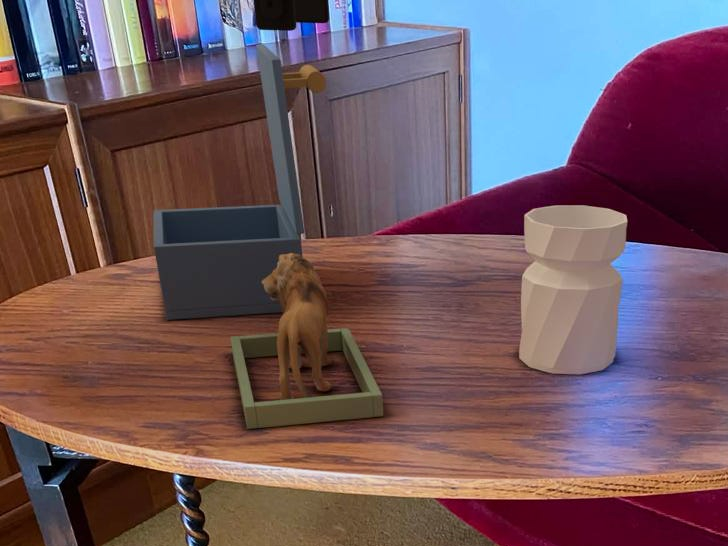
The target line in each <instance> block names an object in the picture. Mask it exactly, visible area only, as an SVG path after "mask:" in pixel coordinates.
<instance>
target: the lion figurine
mask: <svg viewBox="0 0 728 546" xmlns="http://www.w3.org/2000/svg"><path fill="white" fill-rule="evenodd" d="M302 256H303V255H302ZM302 256H300V255H299V254H294V253H289V254H284V255H280V256H279V262H278V263H277V265H278V266H277V268H276V269H275V270H273V272H272V274H270V275H269V276H268V277H266V278H265V279H264V280H262V284H263V285H264V289H265V291H266V292H267V293H269V294H270V297H271V299H272V300H273V301H275V300H279V302H280V304H281V307H282V312H281V313H282V315H281V317H280V319H279V322H278V330H277V333H278V338H277V350H278V356H277V357H278V359H277V360H278V361H277V362H278V367H279V368H278V369H279V378H278V382H279V385H280V392H281V393H280V396H279V400H287V399H295V397H294V394H293V393H292V390H291V379H290V370H292V376H293V378H294V381H295V383H296V386H297V389H298V391H299V392H300V394H301V396H302V398H310V397H313V395H312V394H311V393H310V392H309V391H308V389H307V387H306V386H305V384H304V382H303V378H302V376H301V375H302V374H301V368H302V366H303V362H304V360H303V356H302V354H301V353H300V349H299V347H300V348H301V349H302V350H303V352H304V355H305V356H306V358H307V360H308V362H309V364H310V366H311V370H312V371H311V379H312V380H313V382H314V384H315V388H316V389H317V391H320V392H329V391H330V390H331V389H332V384H331V383H330V382H329V381H328V380H324V377H323V373H322V367H327V366H331V364H332V360H331V359H330V358H328V352H327V346H328V343H327V341H328V326H327V318H328V314H329V300H328V297H327V296H328V293H327V291H326V289H325V288H324V287H323V283H322V281H321V277H320V276H319V275H320V274H318V273H317V271H315V269H314V265H313V264H312V263H311V262H310V261H309V260H308V259H306V258H304V257H302Z"/></svg>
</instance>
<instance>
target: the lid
mask: <svg viewBox="0 0 728 546" xmlns="http://www.w3.org/2000/svg"><path fill="white" fill-rule="evenodd" d="M255 46H256V53H257V60H258V67H259V73H260V80H261V87H262V93H263V101H264V107H265V113H266V120H267V127H268V133H269V140H270V147H271V154H272V160H273V166H274V173H275V181H276V187H277V194H278V200H279V202H280V205H282V206H283V208H284V210H285V212H286V214H287V216H288V218H289V220H290V222H291V224H292V226H293V228H294V230H295V232H296V234H298V235H304V234H305V227H304V220H303V212H302V205H301V198H300V192H299V185H298V184H299V183H298V176H297V169H296V162H295V161H296V160H295V155H294V154H295V153H294V148H293V140H292V133H291V124H290V117H289V110H288V106H287V105H288V103H287V96H286V90H287V89H299V88H307V89H308V90H310V92H312V93H314V94H320V93H322V92H323V91H325V89H326V87H327V86H326V85H327V80H326V77H325V76H324V74H323V73H322V72H321V71H319V70H318V69H317V68H316V67H314V66H313V65H311V64H305V65H303V66H301V68H300V70H299V71H296V72H283V69H282V68H283V67H282V61H281V59H280V57H278V56H277V55H276V54H275V53H274V52H273V51H271V49H269V47H267V46H266V45H265V44H264V43H259V44H255Z"/></svg>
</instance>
